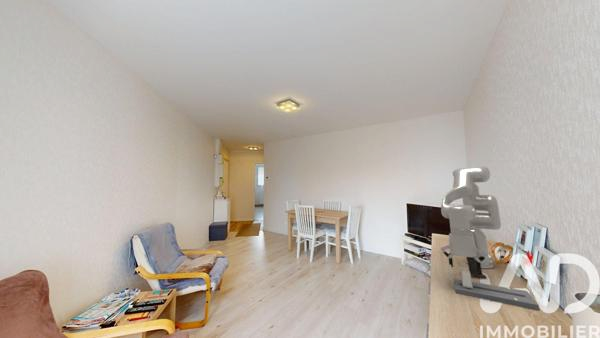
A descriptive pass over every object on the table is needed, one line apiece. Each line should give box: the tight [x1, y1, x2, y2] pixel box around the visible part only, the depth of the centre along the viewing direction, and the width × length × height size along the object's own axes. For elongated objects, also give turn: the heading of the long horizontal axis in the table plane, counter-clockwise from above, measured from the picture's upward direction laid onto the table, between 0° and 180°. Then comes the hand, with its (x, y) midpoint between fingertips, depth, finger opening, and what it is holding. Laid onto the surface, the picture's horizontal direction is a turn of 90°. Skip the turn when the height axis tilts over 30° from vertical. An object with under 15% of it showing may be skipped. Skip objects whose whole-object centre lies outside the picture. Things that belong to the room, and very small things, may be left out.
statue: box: [465, 257, 488, 280], centre depth 108 cm, size 7×7×20 cm
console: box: [453, 277, 540, 311], centre depth 90 cm, size 26×12×2 cm, turn 55°
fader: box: [460, 267, 473, 289], centre depth 95 cm, size 4×7×7 cm, turn 145°
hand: (464, 268), depth 95 cm, fingers open, 9 cm apart
